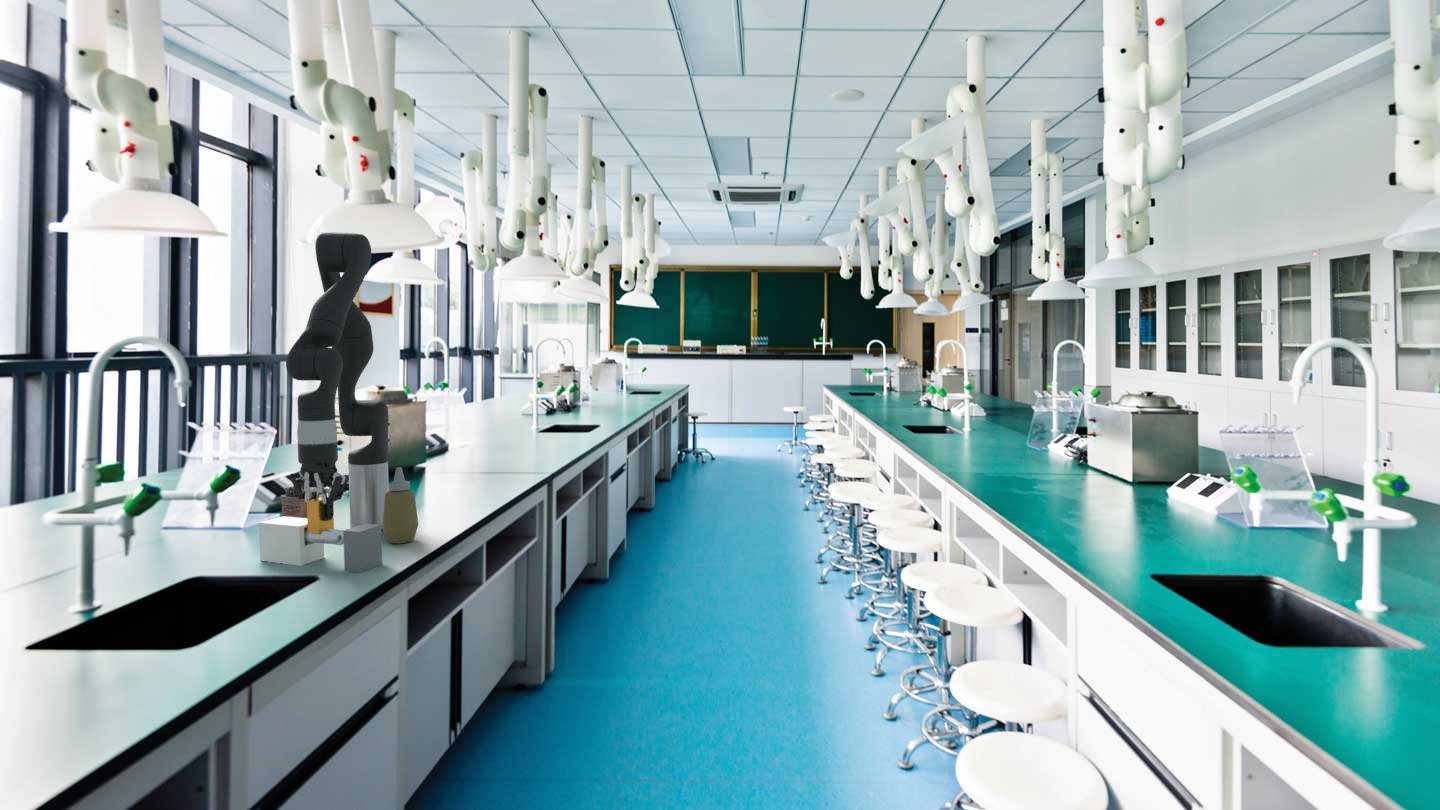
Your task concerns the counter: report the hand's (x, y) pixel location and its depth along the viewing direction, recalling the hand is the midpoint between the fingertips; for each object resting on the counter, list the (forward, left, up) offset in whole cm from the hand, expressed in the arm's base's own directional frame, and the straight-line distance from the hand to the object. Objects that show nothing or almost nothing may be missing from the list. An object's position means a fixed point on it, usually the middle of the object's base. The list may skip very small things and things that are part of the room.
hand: (320, 519), depth 160 cm
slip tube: (0, -3, -5) cm, 6 cm away
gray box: (0, +11, -10) cm, 15 cm away
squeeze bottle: (-20, +4, -10) cm, 23 cm away
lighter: (-26, -34, -10) cm, 44 cm away
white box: (0, -8, -10) cm, 13 cm away
